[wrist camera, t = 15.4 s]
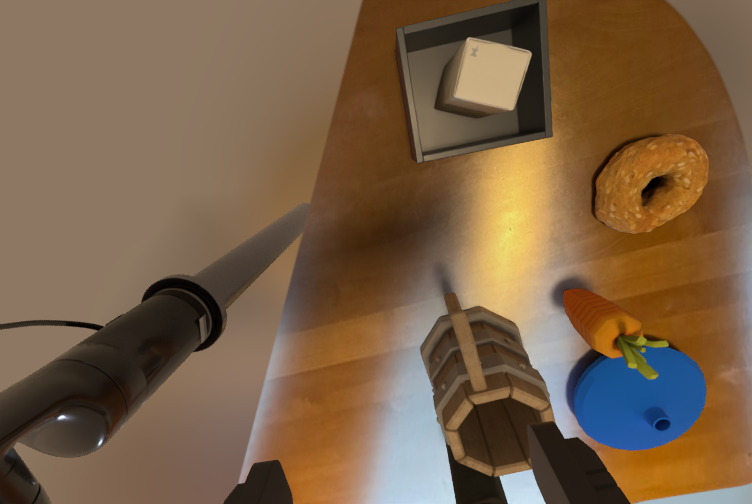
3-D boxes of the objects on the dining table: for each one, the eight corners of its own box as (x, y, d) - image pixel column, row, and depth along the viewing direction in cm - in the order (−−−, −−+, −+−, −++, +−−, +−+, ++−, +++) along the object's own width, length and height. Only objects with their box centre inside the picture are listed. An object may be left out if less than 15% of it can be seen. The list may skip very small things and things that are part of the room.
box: (433, 109, 38) (448, 96, 27) (443, 65, 36) (464, 33, 26) (480, 120, 38) (515, 111, 27) (493, 76, 36) (534, 50, 26)
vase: (684, 320, 44) (737, 352, 37) (689, 419, 48) (736, 464, 42) (556, 348, 46) (584, 383, 39) (571, 440, 50) (599, 486, 44)
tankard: (528, 378, 48) (586, 480, 33) (438, 400, 49) (456, 506, 35) (494, 244, 42) (545, 296, 28) (394, 274, 44) (394, 338, 30)
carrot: (551, 271, 43) (630, 336, 29) (592, 275, 43) (691, 342, 29) (541, 307, 44) (612, 386, 30) (580, 312, 44) (670, 393, 30)
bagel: (567, 191, 40) (590, 198, 36) (650, 113, 37) (685, 109, 33) (623, 247, 42) (651, 260, 37) (706, 176, 39) (748, 180, 34)
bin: (412, 159, 40) (417, 163, 33) (395, 50, 37) (395, 28, 29) (522, 137, 39) (552, 136, 31) (514, 22, 35) (546, -8, 28)
